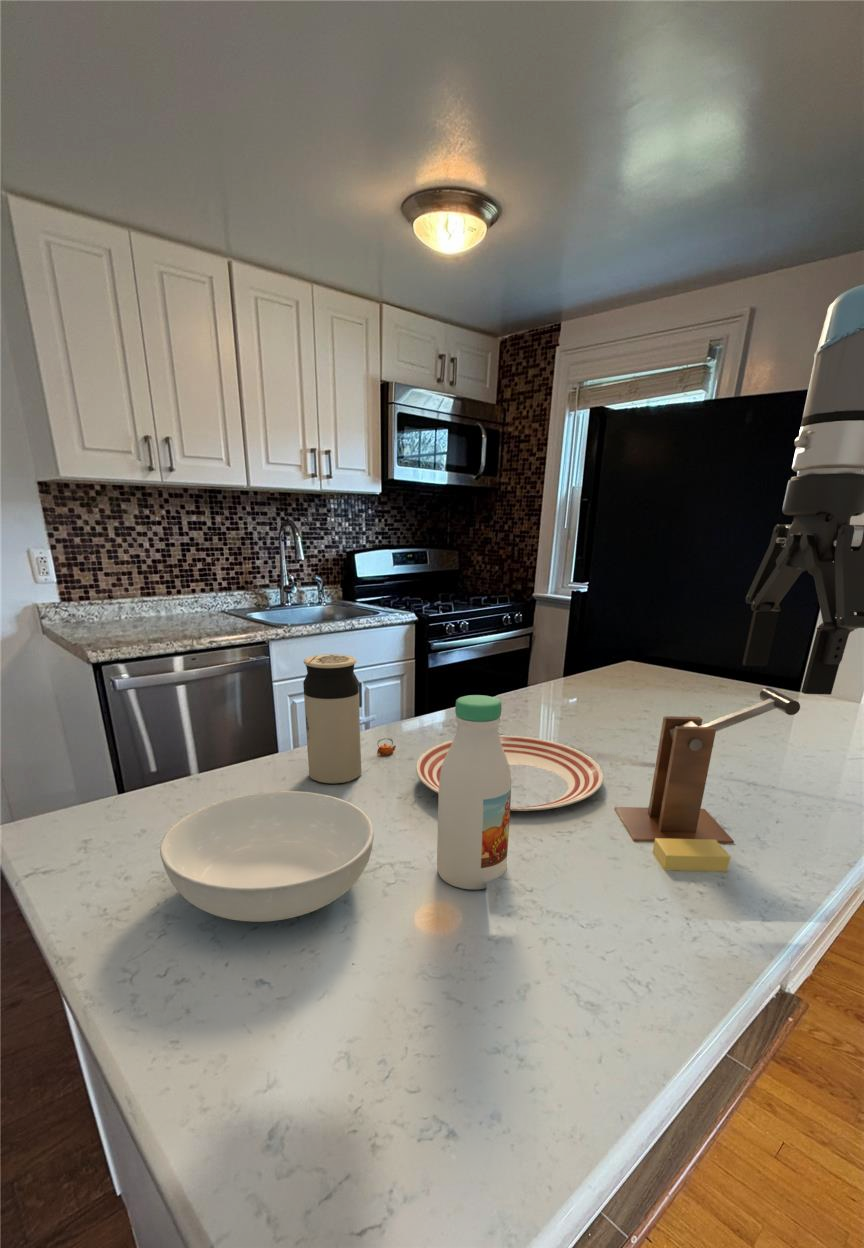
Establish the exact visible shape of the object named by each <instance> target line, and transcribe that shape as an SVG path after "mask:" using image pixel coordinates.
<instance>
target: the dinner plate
mask: <svg viewBox="0 0 864 1248" xmlns="http://www.w3.org/2000/svg"><path fill="white" fill-rule="evenodd" d="M499 738H500V742H501V745H502V748H503V750H504V753H505V755H506V757H507V760H508V763H509V766H531V767H534V768H539V769H542V770H545V771H548V772H552V773H554V774H555V775H557V776H559V777H561V778H562V779H563V780H564V781H566V784H567V790H566V791H565V793H564V794H563V795H562V796H561V797H559V798H557V799H555V800H553V801H550V802H547V803H543V804H538V805H532V806H510V812H511V811H512V812H530V811H543V810H549V809H555V808H561V807H566V806H569V805H573V804H575V803H578V802H582V801H583V800H585V799H587V798H589V797H591V796H592V795H594V794H595V793H596V792H597V791H598V790H599V789H600V788H601V787H602V785H603V782H604V772H603V770H602V768H601V767H600V765H599V764H598V763H597V761H595V760H594V759H593V758H591V757H590V756H589V755H587V754H586V753H584V752H582V751H580V750H578V749H576V748H574V747H571V746H568V745H565V744H563V743H559V742H556V741H552V740H547V739H542V738H536V737H529V736H520V735H500V734H499ZM453 740H454V739H452V740H448V741H445V742H442V743H440V744H437V745H435V746H432V747H431V748H429V749H427V750H426V751H425V752H424V753H422V754H421V755H420V756H419V758H418V760H417V762H416V764H415V773H416V775H417V777H418V779H419V780H420V781H421V782H422V783H423V784H424V785H425V786H426V787H427V788H428V789H430V790H431V791H433V792H435V793H437V794H438V795H439V780H440V773H441V768H442V764H443V761H444V759H445V757H446V754H447V753H448V751H449V749H450V747H451V745H452V742H453Z"/></svg>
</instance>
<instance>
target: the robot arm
mask: <svg viewBox="0 0 864 1248" xmlns="http://www.w3.org/2000/svg"><path fill="white" fill-rule="evenodd" d="M813 358H814V360H813V365H812V370H811V373H810V379H809V384H808V388H807V395H806V398H805V404H804V408H803V413H802V418H801V424H800V429H799V433H798V436H797V437H796V438H795V439H794V443H793V444H794V447H795V451H794V456H793V461H792V465H791V469H792V471H793V472H795V473H796V476H791V477H790V479H789V480H788V482H787V485H786V490H785V495H784V500H783V505H782V509H781V510H782V511H781V512H782V513H783V514H784V515H785V516H793V520H792V521H791V522H792V523H791V524H776V525H774V527H773V531H772V535H771V538H770V542H769V545H768V548H767V550H766V552H765V554H764V556H763V559H762V561H761V563H760V565H759V568H758V569H757V572H756V574H755V576H754V578H753V581H752V583H751V586H750V587H749V590H748V592H747V593H746V596H745V603H746V604H750V605H751V606H750V607H751V611H752V612H753V613H752V617H751V622H750V627H749V632H748V636H747V637H748V638H747V641H746V646H745V650H744V655H743V659H742V664H741V665H742V666H745V667H768V663H769V659H770V654H771V650H772V645H773V641H774V636H775V632H776V628H777V623H778V619H779V615H780V613H779V612H780V611H781V610H782V609H781V606H780V603H781V601H782V600H783V599H784V598H785V596H786V595H787V593H788V592H789V591H790V589H791V588H792V587H793V585H794V584H795V582H796V581H797V580H798V578H799V577H800V576H801V574H802V573H803V572H805V571H807V573H808V574H809V575H810V576H812V577H813V580H814V586H815V590H816V595H817V600H818V605H819V610H820V613H821V619H822V622H821V623H820V624H819V625H818V627H816V631H815V636H814V640H813V643H812V648H811V651H810V656H809V659H808V662H807V663H808V664H807V667H806V670H805V671H806V672H805V675H804V679H803V683H802V686H801V691H800V693H801V694H804V695H827V696H828V695H831V696H832V693H833V689H834V685H835V682H836V678H837V675H838V671H839V667H840V664H841V663H842V661H843V656H844V653H845V650H846V647H847V643H848V638H849V635H850V634H851V633H852V632H854V631H855V630H858V629H864V524H851V518H852V517H859V516H862V515H863V514H864V284H862V285H857V286H855V287H852V288H850V289H848V290H846V291H844V292H842V293H840V295H838V296H837V297H836V298H835V299H834V301H833V302H831V303H830V304H829V306H828V307H827V311H826V314H825V318H824V323H823V327H822V330H821V334H820V336H819V341H818V345H817V348H816V351H815V352H814V357H813ZM855 613H856V614H855Z"/></svg>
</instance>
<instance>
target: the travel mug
mask: <svg viewBox="0 0 864 1248" xmlns="http://www.w3.org/2000/svg"><path fill="white" fill-rule="evenodd" d="M356 663H357V659H356V658H355V657H354V656H351V655H346V654H336V653H335V654H334V653H333V654H318V655H317V654H316V655H311V656H308V657H306V658H304V659H303V664H304V665H305V667H306V672H307V673H306V676H305V677H304V680H303V682H302V684H303V685H302V686H303V699H304V701H303V702H304V715H305V729H306V730H305V731H306V732H305V733H306V745H307V747H306V748H307V760H308V761H307V762H308V775H309V777H310V778H311V779H312V780H314V781H317V782H318V783H323V784H329V785H333V784H343V783H348V782H351V781H353V780H355V779H357V778H358V777H360V776H361V774H362V750H361V749H362V748H361V747H362V746H361V744H362V743H361V717H360V716H361V715H360V713H361V712H360V685H359V683H360V681H359V679H358V677H357V675H356V674H355V672H354V671H355V665H356Z"/></svg>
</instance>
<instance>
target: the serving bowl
mask: <svg viewBox="0 0 864 1248" xmlns="http://www.w3.org/2000/svg"><path fill="white" fill-rule="evenodd" d="M374 833H375V832H374V826H373V823H372V821H371V819H370V817H369V816H368V815H367V813H365V812H364V811H363V810H362V809H360V808H359V807H357V805H354V804H352V803H350V802H349V801H346V800H344V799H341V798H338V797H335V796H332V795H327V794H323V793H315V792H309V791H294V790H293V791H291V790H290V791H289V790H286V791H285V790H283V791H282V790H281V791H264V792H256V793H250V794H249V793H248V794H243V795H239V796H234V797H231V798H227V799H223V800H219V801H217V802H214V803H211V804H208V805H205V806H203V807H201V808H199V809H197V810H195V811H193V812H191V813H189V814H187V815H185V816H184V817H182V818H181V819H179V820H178V821H177V822H176V823H174V825H173V826H171V827H170V829H168V831H167V832H166V833H165V834H164V836H163V838H162V840H161V843H160V847H159V855H160V859H161V862H162V865H163V868H164V870H165V873H166V875H167V877H168V879H169V881H170V883H171V884H172V886H173V887H174V888H175V890H176V891H177V892H178V893H179V894H180V895H181V897H183V898H184V899H185V900H186V901H187V902H189V903H190V904H192V905H193V906H194V907H196V908H197V909H200V910H201V911H204V912H206V913H208V914H211V915H213V916H216V917H219V918H223V919H228V920H233V921H239V922H240V921H241V922H258V923H259V922H261V923H262V922H273V921H282V920H287V919H291V918H292V919H293V918H296V917H300V916H303V915H307V914H309V913H312V912H314V911H318V910H320V909H321V908H324V907H325V906H328V905H329V904H331V903H333V902H334V901H336V900H338V899H339V898H340V897H342V896H343V895H344V894H345V893H346V892H348V891H349V890H350V889H351V888H352V887H353V885H354V884H356V882H357V881H358V880H359V878H360V877H361V876H362V874H363V872H364V870H365V869H366V867H367V865H368V863H369V860H370V857H371V854H372V849H373V844H374V838H375V837H374V836H375V834H374Z"/></svg>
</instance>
